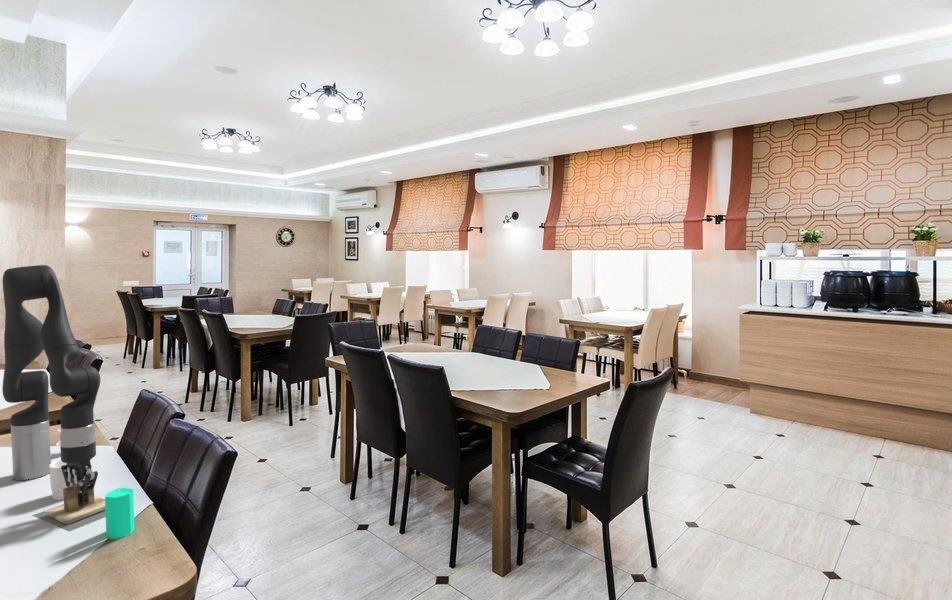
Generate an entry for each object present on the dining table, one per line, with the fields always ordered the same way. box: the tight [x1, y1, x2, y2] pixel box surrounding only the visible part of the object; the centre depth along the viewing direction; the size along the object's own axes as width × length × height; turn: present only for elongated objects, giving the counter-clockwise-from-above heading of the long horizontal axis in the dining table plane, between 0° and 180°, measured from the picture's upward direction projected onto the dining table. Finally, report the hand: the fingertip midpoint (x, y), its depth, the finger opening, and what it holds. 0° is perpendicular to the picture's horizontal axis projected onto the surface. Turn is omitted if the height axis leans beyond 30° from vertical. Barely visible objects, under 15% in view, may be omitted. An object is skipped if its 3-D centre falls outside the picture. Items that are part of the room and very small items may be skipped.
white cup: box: [49, 459, 70, 501], centre depth 150 cm, size 8×8×10 cm
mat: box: [32, 504, 106, 532], centre depth 140 cm, size 18×14×1 cm
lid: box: [44, 484, 105, 524], centre depth 139 cm, size 11×11×7 cm
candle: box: [104, 487, 135, 540], centre depth 130 cm, size 6×6×12 cm
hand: (80, 503), depth 140 cm, fingers closed on lid, 2 cm apart
